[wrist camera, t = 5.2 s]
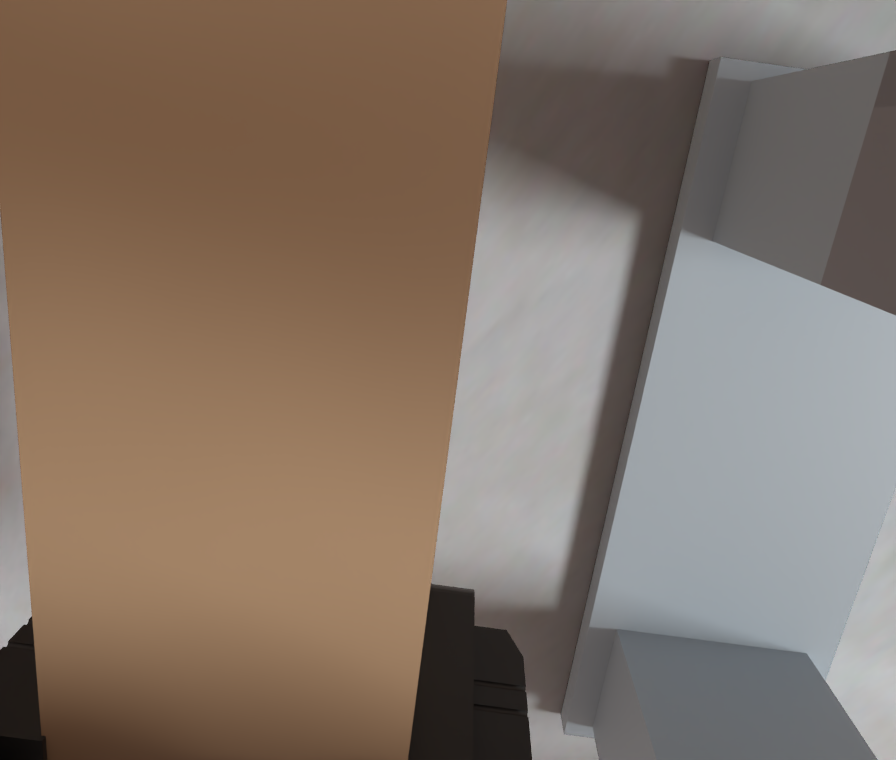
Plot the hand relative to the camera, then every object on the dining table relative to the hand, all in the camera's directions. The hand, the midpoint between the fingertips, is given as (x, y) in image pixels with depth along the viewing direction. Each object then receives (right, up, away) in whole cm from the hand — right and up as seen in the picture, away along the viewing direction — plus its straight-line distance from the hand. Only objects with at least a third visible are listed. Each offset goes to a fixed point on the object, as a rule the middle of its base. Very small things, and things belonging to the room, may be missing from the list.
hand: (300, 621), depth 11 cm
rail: (0, 0, +1) cm, 1 cm away
